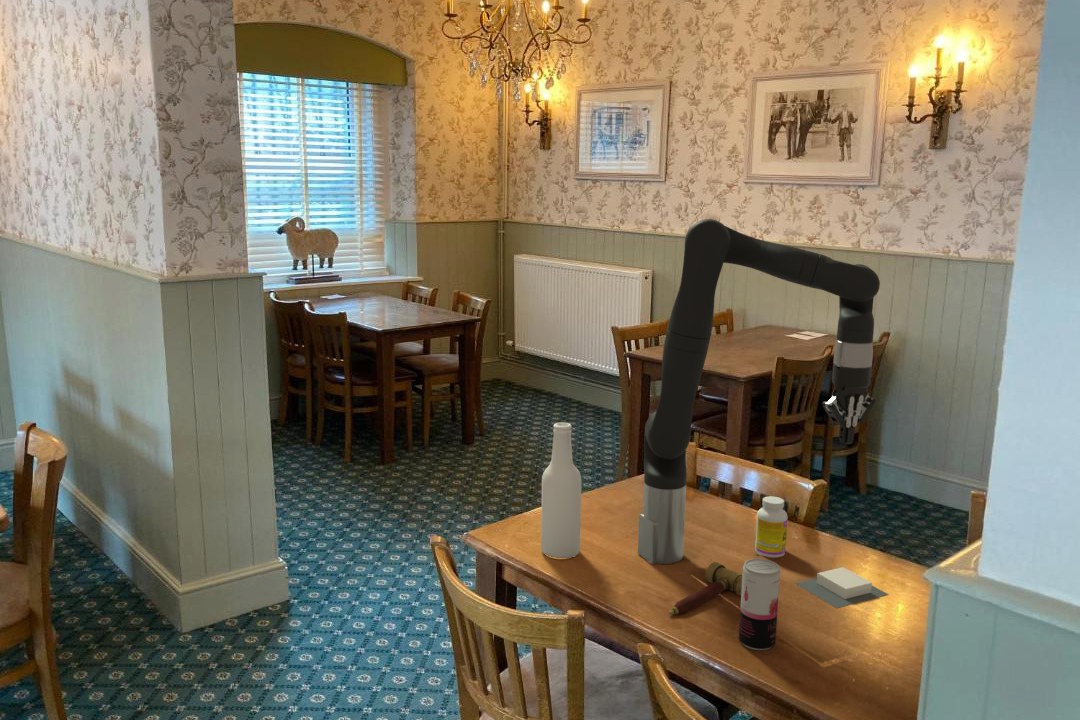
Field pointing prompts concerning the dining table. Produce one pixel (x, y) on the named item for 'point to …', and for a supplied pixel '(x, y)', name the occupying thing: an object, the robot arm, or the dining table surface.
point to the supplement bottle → (771, 528)
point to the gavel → (710, 588)
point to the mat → (834, 598)
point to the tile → (844, 583)
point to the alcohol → (561, 499)
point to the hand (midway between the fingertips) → (845, 443)
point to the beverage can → (759, 604)
